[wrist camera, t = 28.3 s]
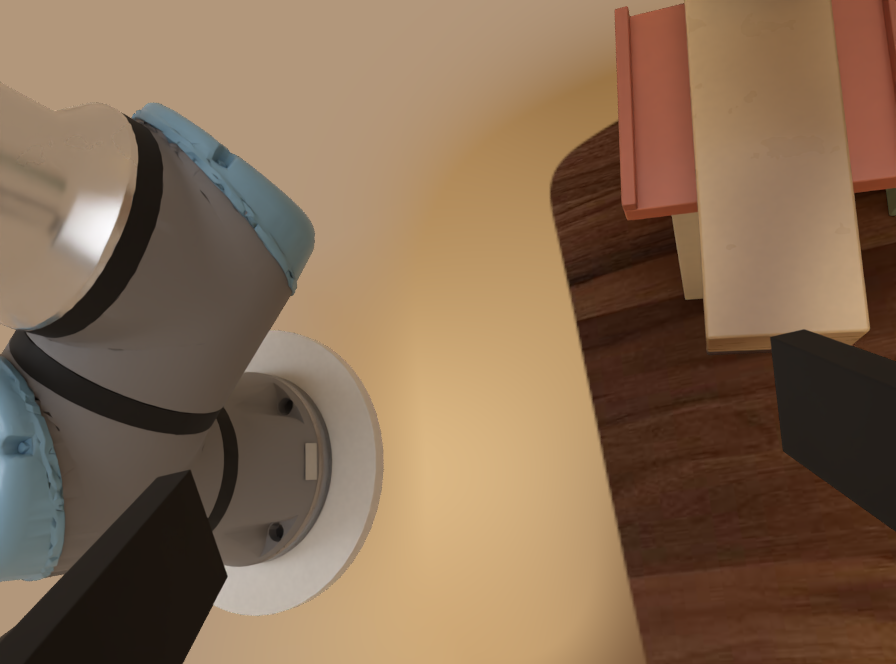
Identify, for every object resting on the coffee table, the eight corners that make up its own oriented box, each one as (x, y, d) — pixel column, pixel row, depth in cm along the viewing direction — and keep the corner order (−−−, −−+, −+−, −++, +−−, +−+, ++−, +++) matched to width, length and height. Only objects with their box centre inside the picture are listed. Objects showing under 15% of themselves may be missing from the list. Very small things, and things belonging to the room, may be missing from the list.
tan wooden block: (706, 355, 20) (705, 325, 16) (677, -101, 24) (670, -232, 19) (848, 349, 19) (891, 313, 14) (794, -137, 22) (815, -288, 18)
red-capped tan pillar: (660, 317, 39) (621, 205, 22) (654, 198, 40) (614, 8, 23) (826, 307, 35) (930, 164, 18) (812, 177, 37) (898, -63, 20)
